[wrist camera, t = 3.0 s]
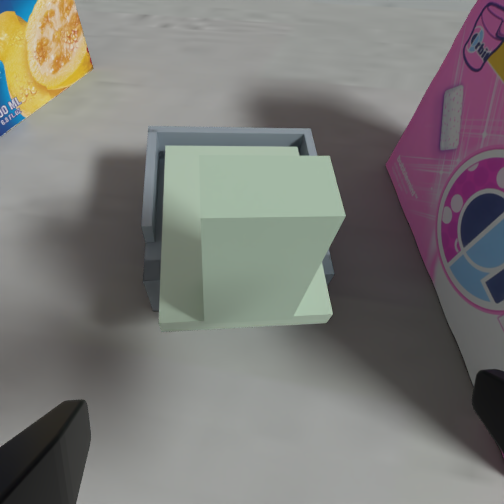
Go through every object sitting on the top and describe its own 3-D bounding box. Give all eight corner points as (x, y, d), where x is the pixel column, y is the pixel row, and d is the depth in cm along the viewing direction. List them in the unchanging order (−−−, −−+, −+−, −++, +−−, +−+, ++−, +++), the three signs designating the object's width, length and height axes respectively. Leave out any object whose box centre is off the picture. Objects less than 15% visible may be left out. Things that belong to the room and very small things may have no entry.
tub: (316, 303, 23) (343, 260, 19) (153, 311, 22) (138, 266, 17) (294, 186, 28) (310, 128, 24) (159, 186, 27) (148, 125, 22)
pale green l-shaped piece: (326, 326, 18) (413, 215, 11) (161, 335, 17) (122, 219, 10) (293, 160, 24) (334, 8, 16) (167, 160, 23) (145, -3, 15)
